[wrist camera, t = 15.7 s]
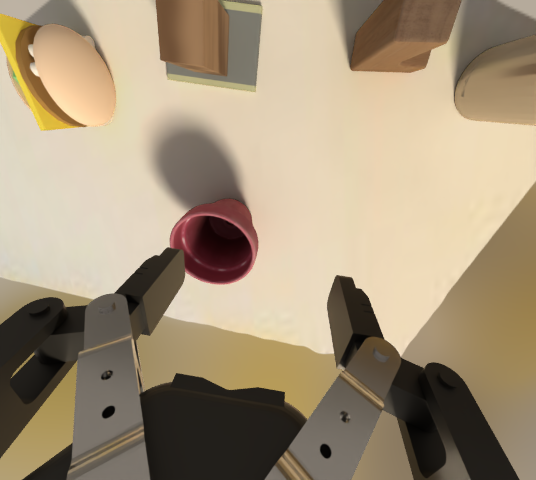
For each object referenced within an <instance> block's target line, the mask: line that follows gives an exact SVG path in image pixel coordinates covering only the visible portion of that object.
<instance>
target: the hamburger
mask: <svg viewBox="0 0 536 480" xmlns="http://www.w3.org/2000/svg"><path fill="white" fill-rule="evenodd" d="M0 43H1V45H2V47H3V49H4V51H5V53H6V56H7V66H8V71H9V75H10V78H11V80H12V83H13V85H14V87H15V89H16V91H17V93H18V94H19V96H20V97H21V99H22V100H23V102H24V103H25V104H26V105H27V107H28V108H29V109H30V110H31V111H32V112H33V114H34V117H35V119H36V121H37V123H38V125H39V127H40V130H41V131H42V130H55V129H65V128H75V127H86V126H105V125H108V124H109V123H111V121H112V120H113V114H114V111H115V107H116V93H115V87H114V83H113V80H112V77H111V75H110V72H109V70H108V68H107V66H106V64H105V63H104V61H103V60H102V58H101V56H100V55H99V54H98V52H97V51H96V50H95V43H94V40H93V39H92V38H91V37H90V36H81V35H79V34H78V33H76V32H75V31H73V30H72V29H69V28H67V27H65V26H62V25H58V24H47V25H44V26H39V25H35V24H32V23H29V22H26V21H22V20H19V19H16V18H13V17H10V16H6V15H3V14H0Z"/></svg>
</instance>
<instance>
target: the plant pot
mask: <svg viewBox="0 0 536 480" xmlns="http://www.w3.org/2000/svg"><path fill="white" fill-rule="evenodd" d="M228 221H229V222H231V223H232V224H230V223H229V222H228ZM170 248H175V249H181V250H183V252H184V263H185V272H186V273H188V274H189V275H191V276H192V277H194V278H196V279H198V280H200V281H203V282H206V283H210V284H230V283H233V282H236V281H239V280H240V279H242V278H244V277H245V276H246V275H247V274H248V273H249V272H250V270H251V269H252V267H253V265H254V262H255V259H256V256H257V251H258V237H257V233H256V231H255V229H254V227H253V224H252V217H251V214H250V212H249V210H248V209H247V207H246V206H245V205H244V204H242V203H241V202H239V201H237V200H234V199H222V200H219V201H217V202H215V203H210V204H202V205H199V206H196V207H194V208H192V209H191V210H189V211H188V212H187V213H186V214H185V215H184V216H183V217H182V218H181V219H180V220H179V221H178V222H177V223H176V225H175V226H174V228H173V229H172V232H171V235H170Z"/></svg>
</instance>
